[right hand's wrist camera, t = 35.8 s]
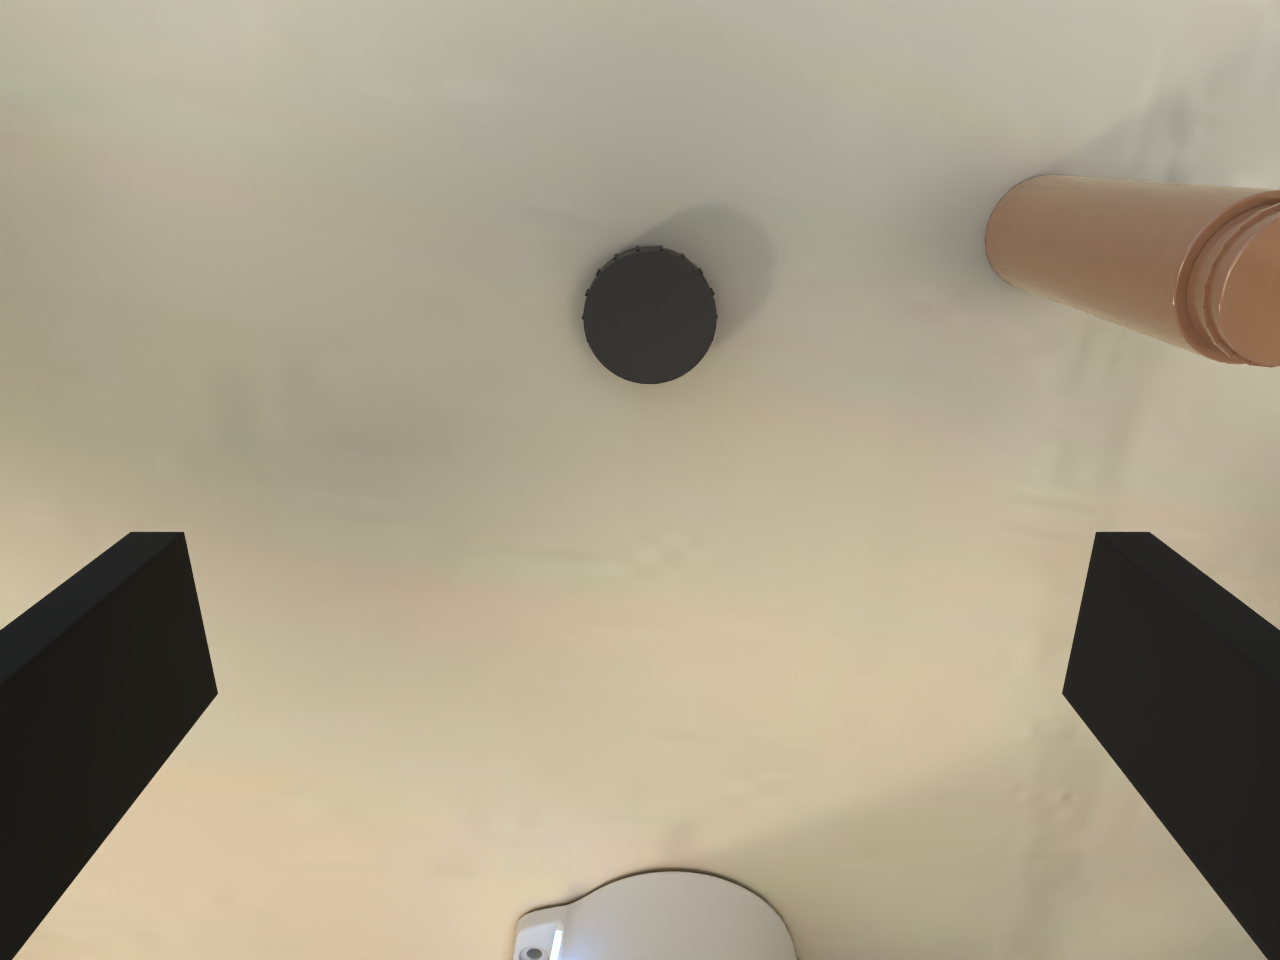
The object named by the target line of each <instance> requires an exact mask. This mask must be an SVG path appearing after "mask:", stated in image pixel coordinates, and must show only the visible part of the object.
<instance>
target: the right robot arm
mask: <svg viewBox="0 0 1280 960" xmlns="http://www.w3.org/2000/svg"><path fill="white" fill-rule="evenodd" d="M217 694H218V692H217V687H216V682H215V678H214V673H213V668H212V663H211V658H210V654H209V649H208V644H207V639H206V635H205V630H204V625H203V620H202V616H201V611H200V606H199V601H198V597H197V592H196V587H195V582H194V578H193V573H192V568H191V563H190V559H189V554H188V549H187V544H186V540H185V535H184V532H130V533H129V534H127V535H126V536H125V537H123V538H122V539H121V540H119V541H118V542H117V543H115V544H114V545H113V546H112V547H110V548H109V549H108V550H106V551H105V552H104V553H102V554H101V555H100V556H98V557H97V558H96V559H94V560H93V561H92V562H90V563H89V564H88V565H86V566H85V567H84V568H82V569H81V570H80V571H78V572H77V573H76V574H74V575H73V576H72V577H70V578H69V579H68V580H66V581H65V582H64V583H62V584H61V585H60V586H58V587H57V588H56V589H55V590H53V591H52V592H51V593H49V594H48V595H47V596H45V597H44V598H43V599H41V600H40V601H39V602H37V603H36V604H35V605H33V606H32V607H31V608H29V609H28V610H27V611H25V612H24V613H23V614H21V615H20V616H19V617H17V618H16V619H15V620H13V621H12V622H11V623H9V624H8V625H7V626H5V627H4V628H3V629H1V630H0V960H12V959H13V958H14V957H15V955H16V954H17V953H18V951H19V950H20V949H21V947H22V946H23V945H24V944H25V942H26V941H27V940H28V938H29V937H30V936H31V935H32V933H33V932H34V931H35V929H36V928H37V927H38V925H39V924H40V923H41V922H42V920H43V919H44V918H45V916H46V915H47V914H48V913H49V911H50V910H51V909H52V907H53V906H54V905H55V903H56V902H57V901H58V900H59V898H60V897H61V896H62V894H63V893H64V892H65V891H66V889H67V888H68V887H69V885H70V884H71V883H72V882H73V880H74V879H75V878H76V876H77V875H78V874H79V872H80V871H81V870H82V869H83V867H84V866H85V865H86V863H87V862H88V861H89V860H90V858H91V857H92V856H93V854H94V853H95V852H96V850H97V849H98V848H99V847H100V845H101V844H102V843H103V841H104V840H105V839H106V838H107V836H108V835H109V834H110V832H111V831H112V830H113V829H114V827H115V826H116V825H117V823H118V822H119V821H120V819H121V818H122V817H123V816H124V814H125V813H126V812H127V810H128V809H129V808H130V807H131V805H132V804H133V803H134V801H135V800H136V799H137V797H138V796H139V795H140V794H141V792H142V791H143V790H144V788H145V787H146V786H147V785H148V783H149V782H150V781H151V779H152V778H153V777H154V775H155V774H156V773H157V772H158V770H159V769H160V768H161V766H162V765H163V764H164V763H165V761H166V760H167V759H168V757H169V756H170V755H171V754H172V752H173V751H174V750H175V748H176V747H177V746H178V744H179V743H180V742H181V741H182V739H183V738H184V737H185V735H186V734H187V733H188V732H189V730H190V729H191V728H192V726H193V725H194V724H195V722H196V721H197V720H198V719H199V717H200V716H201V715H202V713H203V712H204V711H205V710H206V708H207V707H208V706H209V704H210V703H211V702H212V701H213V699H214V698H215V697H216V695H217ZM1062 694H1063V695H1064V697H1065V698H1066V699H1067V701H1068V702H1069V703H1070V704H1071V706H1072V707H1073V708H1074V710H1075V711H1076V712H1077V713H1078V715H1079V716H1080V717H1081V719H1082V720H1083V721H1084V722H1085V724H1086V725H1087V726H1088V728H1089V729H1090V730H1091V732H1092V733H1093V734H1094V735H1095V737H1096V738H1097V739H1098V741H1099V742H1100V743H1101V744H1102V746H1103V747H1104V748H1105V750H1106V751H1107V752H1108V754H1109V755H1110V756H1111V757H1112V759H1113V760H1114V761H1115V763H1116V764H1117V765H1118V766H1119V768H1120V769H1121V770H1122V772H1123V773H1124V774H1125V775H1126V777H1127V778H1128V779H1129V781H1130V782H1131V783H1132V785H1133V786H1134V787H1135V788H1136V790H1137V791H1138V792H1139V794H1140V795H1141V796H1142V797H1143V799H1144V800H1145V801H1146V803H1147V804H1148V805H1149V807H1150V808H1151V809H1152V810H1153V812H1154V813H1155V814H1156V816H1157V817H1158V818H1159V819H1160V821H1161V822H1162V823H1163V825H1164V826H1165V827H1166V829H1167V830H1168V831H1169V832H1170V834H1171V835H1172V836H1173V838H1174V839H1175V840H1176V841H1177V843H1178V844H1179V845H1180V847H1181V848H1182V849H1183V850H1184V852H1185V853H1186V854H1187V856H1188V857H1189V858H1190V860H1191V861H1192V862H1193V863H1194V865H1195V866H1196V867H1197V869H1198V870H1199V871H1200V872H1201V874H1202V875H1203V876H1204V878H1205V879H1206V880H1207V882H1208V883H1209V884H1210V885H1211V887H1212V888H1213V889H1214V891H1215V892H1216V893H1217V894H1218V896H1219V897H1220V898H1221V900H1222V901H1223V902H1224V903H1225V905H1226V906H1227V907H1228V909H1229V910H1230V911H1231V913H1232V914H1233V915H1234V916H1235V918H1236V919H1237V920H1238V922H1239V923H1240V924H1241V925H1242V927H1243V928H1244V929H1245V931H1246V932H1247V933H1248V935H1249V936H1250V937H1251V938H1252V940H1253V941H1254V942H1255V944H1256V945H1257V946H1258V947H1259V949H1260V950H1261V951H1262V953H1263V954H1264V955H1265V957H1266V958H1267V959H1268V960H1280V630H1279V629H1277V628H1276V627H1275V626H1273V625H1272V624H1271V623H1269V622H1268V621H1267V620H1265V619H1264V618H1263V617H1261V616H1260V615H1259V614H1257V613H1256V612H1255V611H1253V610H1252V609H1251V608H1249V607H1248V606H1247V605H1245V604H1244V603H1243V602H1241V601H1240V600H1239V599H1237V598H1236V597H1235V596H1233V595H1232V594H1231V593H1229V592H1228V591H1227V590H1225V589H1224V588H1223V587H1222V586H1220V585H1219V584H1218V583H1216V582H1215V581H1214V580H1212V579H1211V578H1210V577H1208V576H1207V575H1206V574H1204V573H1203V572H1202V571H1200V570H1199V569H1198V568H1196V567H1195V566H1194V565H1192V564H1191V563H1190V562H1188V561H1187V560H1186V559H1184V558H1183V557H1182V556H1180V555H1179V554H1178V553H1176V552H1175V551H1174V550H1172V549H1171V548H1170V547H1168V546H1167V545H1166V544H1165V543H1163V542H1162V541H1161V540H1159V539H1158V538H1157V537H1155V536H1154V535H1153V534H1151V533H1150V532H1096V535H1095V540H1094V544H1093V549H1092V554H1091V559H1090V563H1089V568H1088V573H1087V578H1086V582H1085V587H1084V592H1083V597H1082V601H1081V606H1080V611H1079V616H1078V620H1077V625H1076V630H1075V635H1074V639H1073V644H1072V649H1071V654H1070V658H1069V663H1068V668H1067V673H1066V678H1065V682H1064V687H1063V692H1062Z"/></svg>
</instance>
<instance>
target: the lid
mask: <svg viewBox="0 0 1280 960" xmlns="http://www.w3.org/2000/svg"><path fill="white" fill-rule="evenodd" d="M713 295H714V292H713V290H712V288H709V286H708V284H707V282H706V280H705V278H704V276H703V272H702V270H701V269H700V268H699V269H698V268H697V267H696V266H695V265H694V264H693V263H692V262H691V261H689V260H688V259H687V258H685V256H684V254H683V253H682V254H681V255H680V254H678V253H676V252H674V251H671V250H668V249H665V248H663V247H662V246H660V247H640V248H639V246H636V248H635V249H631V250H628V251H625V252H623V253H621V254H619V255H617V254H615V256H614V258H613V259H612V260H610V261H609V262H608V263H607V264H606V265H605V266H603V268H602V269H601V270H600V269H598V271H597V273H596V277H595V279H594V280H593V282H592V285H591V287H590V289H587V292H586V294H585V296H587V298H586V301H585V306H584V313H583V316H582V319H583V321H584V330H585V334H586V338H587V342H588V343H589V346H590V347H591V349H592V351H593V353H594V354H595V356H596V357H597V359H598V360H599V361H600V362H601V363H602V364H603V365H604V366H605V367H606V368H607V369H608V370H610V371H611V372H612V373H614V374H615V375H617V376H619V377H621V378H623V379H625V380H628V381H632V382H636V383H641V384H659V383H664V382H668V381H671V380H674V379H676V378H678V377H680V376H682V375H684V374H685V373H687V372H689V371H690V370H691V369H692V368H693V367H695V366H696V365H697V364H698V363H699V362H700V360H701V359H702V358H703V357H704V355H705V354H706V352H707V351H708V349H709V347H710V345H711V342H712V341H713V337H714V333H715V328H716V318H718V316H717V314H716V307H715V301H714V298H713Z"/></svg>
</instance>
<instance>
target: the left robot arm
mask: <svg viewBox="0 0 1280 960" xmlns="http://www.w3.org/2000/svg"><path fill="white" fill-rule="evenodd" d="M512 960H797V958H796V954H795V950H794V946H793V942H792V939H791V936H790V933H789V931H788V929H787V927H786V926H785V924H784V922H783V921H782V919H781V918H780V917H779V915H778V914H777V913H776V912H775V911H774V910H773V909H772V908H771V907H770V906H769V905H768V904H767V903H766V902H765V901H764V900H762V899H761V898H760V897H758V896H757V895H755V894H754V893H752V892H751V891H749V890H747V889H745V888H743V887H741V886H739V885H737V884H735V883H732V882H730V881H727V880H724V879H721V878H717V877H714V876H709V875H705V874H699V873H692V872H677V871H668V872H654V873H646V874H640V875H636V876H631V877H628V878H624V879H621V880H618V881H615V882H613V883H610V884H608V885H606V886H604V887H602V888H599V889H598V890H596V891H594V892H592V893H591V894H589V895H587V896H585V897H584V898H582V899H580V900H578V901H576V902H574V903H571V904H568V905H564V906H558V907H552V908H546V909H542V910H537V911H534V912H531V913H528V914H526V915H524V916H523V917H521V918H520V919H519V921H518V923H517V926H516V932H515V939H514V947H513V954H512Z"/></svg>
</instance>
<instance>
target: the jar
mask: <svg viewBox="0 0 1280 960" xmlns="http://www.w3.org/2000/svg"><path fill="white" fill-rule="evenodd" d="M985 246H986V253H987V257H988V260H989V263H990V265H991V266H992V268H993V270H994V271H995V272H996V274H997V275H998V276H999V277H1000V278H1001V279H1002V280H1004V281H1005V282H1007V283H1008V284H1010V285H1012V286H1014V287H1017V288H1020V289H1023V290H1025V291H1028V292H1031V293H1033V294H1036V295H1039V296H1041V297H1044V298H1047V299H1050V300H1052V301H1055V302H1058V303H1060V304H1063V305H1066V306H1068V307H1071V308H1074V309H1076V310H1079V311H1082V312H1085V313H1087V314H1090V315H1093V316H1095V317H1098V318H1101V319H1103V320H1106V321H1109V322H1112V323H1114V324H1117V325H1120V326H1122V327H1125V328H1128V329H1130V330H1133V331H1136V332H1139V333H1141V334H1144V335H1147V336H1149V337H1152V338H1155V339H1157V340H1160V341H1163V342H1166V343H1168V344H1171V345H1174V346H1176V347H1179V348H1182V349H1184V350H1187V351H1190V352H1193V353H1195V354H1198V355H1201V356H1203V357H1206V358H1209V359H1212V360H1215V361H1218V362H1222V363H1228V364H1248V365H1253V366H1264V367H1277V366H1280V190H1278V189H1263V188H1247V187H1232V186H1217V185H1202V184H1186V183H1171V182H1156V181H1140V180H1125V179H1110V178H1094V177H1079V176H1064V175H1042V176H1037V177H1034V178H1031V179H1028V180H1026V181H1024V182H1022V183H1020V184H1018V185H1017V186H1015V187H1014V188H1013V189H1011V190H1010V191H1009V192H1008V193H1007V194H1006V195H1005V196H1004V197H1003V198H1002V199H1001V200H1000V202H999V203H998V205H997V206H996V208H995V209H994V211H993V213H992V215H991V217H990V220H989V223H988V226H987V230H986V238H985Z"/></svg>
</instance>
